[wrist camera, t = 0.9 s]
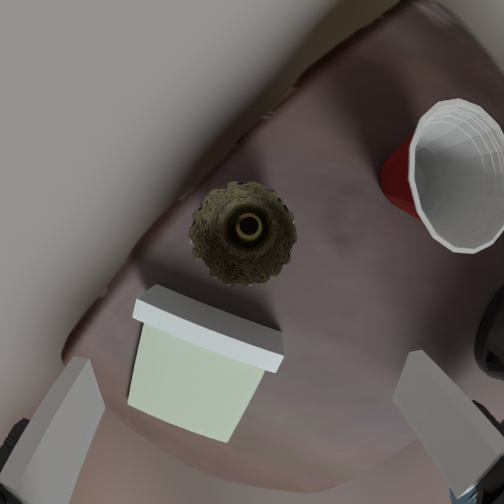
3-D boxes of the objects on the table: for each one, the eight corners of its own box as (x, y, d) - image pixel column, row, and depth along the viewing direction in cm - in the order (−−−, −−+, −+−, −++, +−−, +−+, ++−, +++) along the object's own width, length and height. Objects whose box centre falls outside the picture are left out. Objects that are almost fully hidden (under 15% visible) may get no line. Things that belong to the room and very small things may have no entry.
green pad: (267, 362, 30) (267, 366, 29) (227, 439, 32) (226, 443, 32) (147, 315, 30) (145, 318, 29) (129, 400, 32) (127, 404, 31)
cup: (195, 216, 28) (168, 222, 20) (258, 171, 27) (254, 158, 19) (240, 278, 28) (230, 307, 21) (303, 235, 27) (317, 249, 20)
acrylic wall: (281, 332, 29) (284, 355, 24) (274, 347, 30) (275, 373, 25) (156, 283, 29) (136, 298, 24) (151, 300, 29) (132, 317, 24)
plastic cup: (343, 218, 27) (395, 231, 15) (365, 116, 25) (420, 72, 13) (431, 246, 27) (504, 271, 15) (449, 153, 25) (522, 139, 13)
